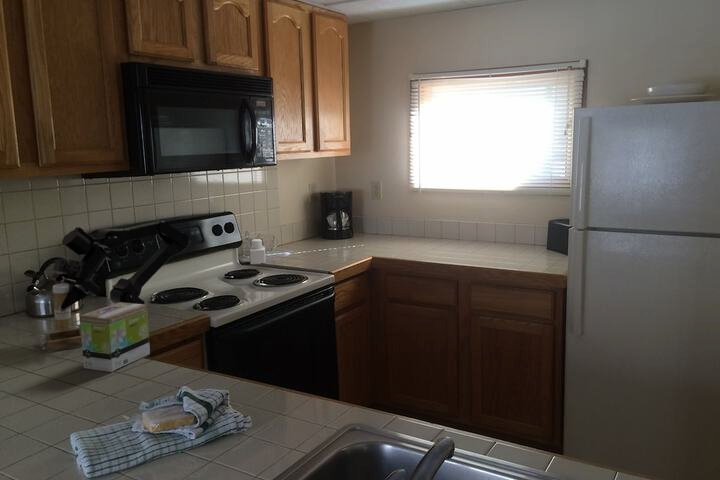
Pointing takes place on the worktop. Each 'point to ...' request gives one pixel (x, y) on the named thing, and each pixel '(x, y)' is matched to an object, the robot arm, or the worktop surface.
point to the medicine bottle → (257, 251)
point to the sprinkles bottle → (60, 315)
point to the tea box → (114, 336)
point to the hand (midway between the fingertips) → (57, 307)
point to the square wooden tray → (63, 339)
